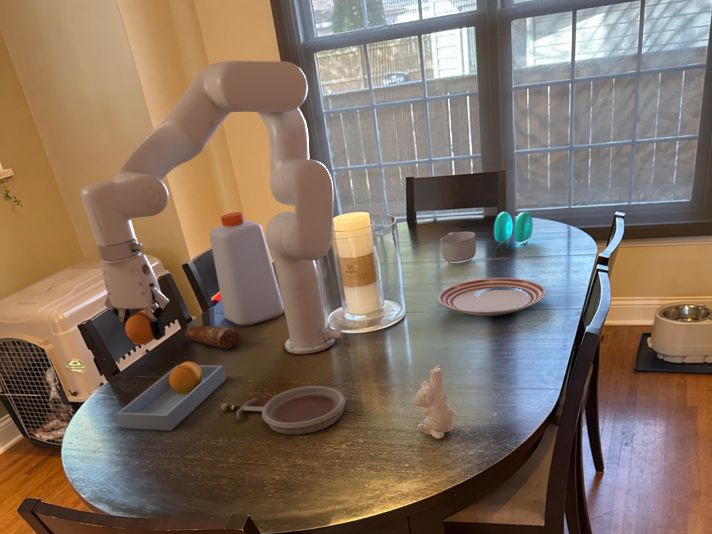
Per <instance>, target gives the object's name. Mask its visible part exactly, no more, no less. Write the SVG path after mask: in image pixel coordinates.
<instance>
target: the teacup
mask: <svg viewBox="0 0 712 534" xmlns="http://www.w3.org/2000/svg"><path fill="white" fill-rule="evenodd" d="M439 242H440V248H441V249H440V250H441V254H442V258H443V260H444V261H445V262H447V261H448V262H447V263H448V264H450V265H454V266H458V265H459V266H460V265H464V264H467V263H470V262H471V260H472V259H473V258H474V257H475V256H476V251H477V242H476V233H475V232H473V231H458V232H453V231H451V232H449V233H448V234H446V235H444V236H442V237H441V238H440V239H439ZM471 258H472V259H471ZM469 259H471V260H469ZM465 260H469V261H465ZM459 261H465V262H460V263H450V262H459Z"/></svg>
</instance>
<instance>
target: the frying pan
mask: <svg viewBox="0 0 712 534" xmlns="http://www.w3.org/2000/svg"><path fill="white" fill-rule="evenodd" d="M258 402H259V400H258V397H254V398H251V399H250V400H247V401H245V402H244V404H243V405H229V404H227V403H226V402H224V403H222V404H221V406H220V409H221V410H222V411H223V412H227V411H228V410H230V411H231V410H232V411H236V417H237V420H238V421H240V414H242V412H243V411H247V412H248V411H249V412H261V418H262V420H264V422H265V423H266V424H267V425H268V426H269V428H270V429H271V430H273V431H275V432H276V433H279V434H284V435H302V434H309V433H314V432H317V431H320V430H323V429H325V428H327V427H329V426H331V425H333V424H334V423H335V422H336V421H338V420H339V419H340V418H341V417H342V414H343V412H344V407H345V404H346V400H345V396H344V395H343V394H342V393H341V392H340V391H339V390H338V389H336V388H333V387H330V386H323V385H306V386H301V387H296V388H292V389H289V390H286V391H283V392H281V393H279V394H277V395H275V396H273V397H272V398H271V399H269V400H268V401H266V403H265V404H264V406H251V405H252V404H255V403H258Z"/></svg>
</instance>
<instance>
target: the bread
mask: <svg viewBox="0 0 712 534" xmlns="http://www.w3.org/2000/svg"><path fill="white" fill-rule="evenodd" d="M184 336H185V338H186V339H188V341H189V340H190V341H193V342H197V343H199V344H203V345H208V346H211V347H215V348H217V349H222V350H229V349H230V348H232V347H234V346H236V345H237V343H238V342H239V341H240V336H241V335H240V331H238V330H237V329H235V328H230V327H223V326H211V325H210V326H209V325H190V326H188V327H187V328H186V330H185V332H184Z"/></svg>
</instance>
